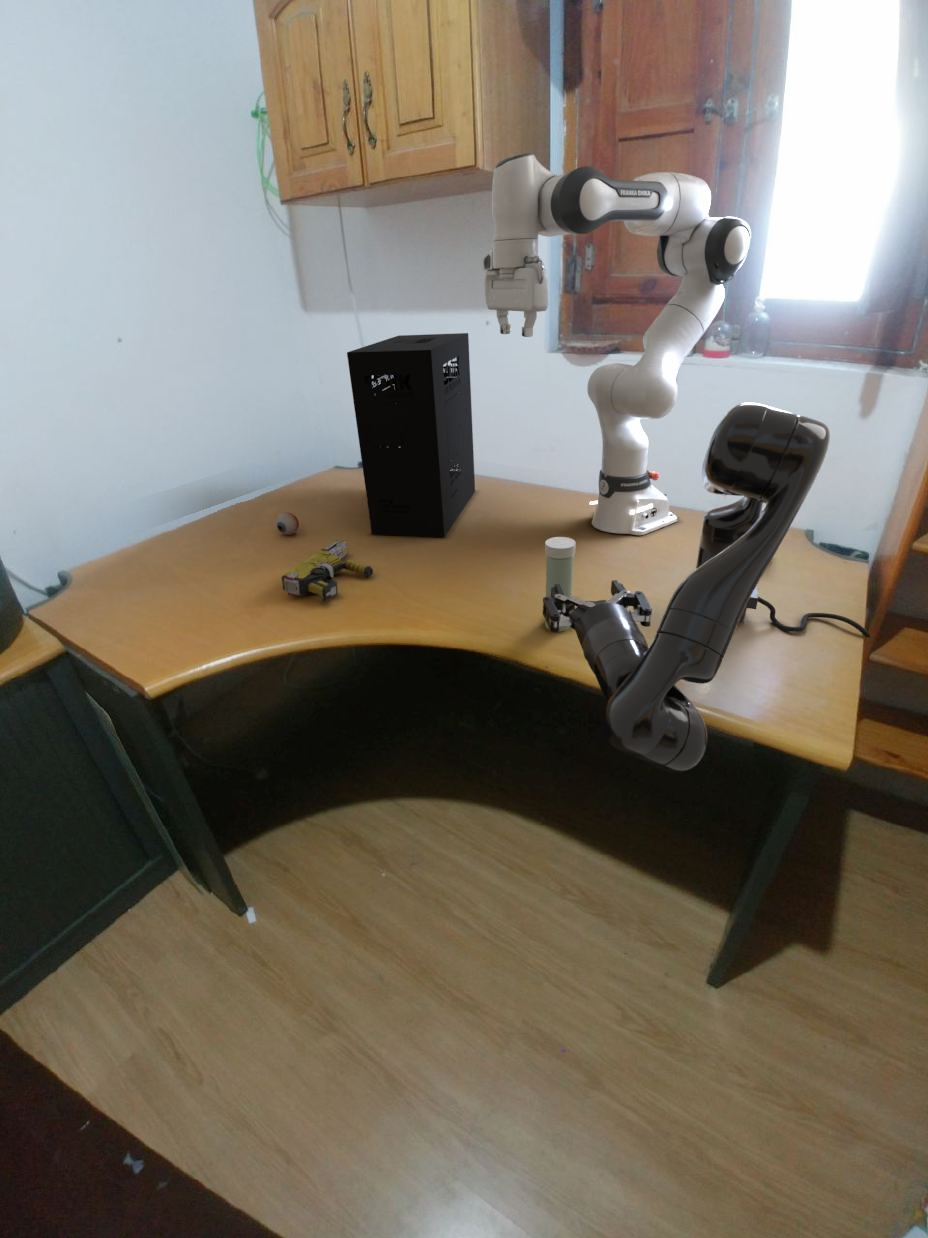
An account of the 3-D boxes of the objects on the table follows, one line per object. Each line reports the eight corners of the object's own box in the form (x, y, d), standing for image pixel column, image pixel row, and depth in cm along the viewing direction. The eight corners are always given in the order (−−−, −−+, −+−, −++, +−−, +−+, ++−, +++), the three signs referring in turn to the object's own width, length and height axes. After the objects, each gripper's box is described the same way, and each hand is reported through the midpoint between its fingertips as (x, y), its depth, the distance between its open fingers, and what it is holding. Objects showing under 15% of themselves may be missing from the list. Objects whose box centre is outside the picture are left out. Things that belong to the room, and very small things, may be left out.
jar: (552, 633, 114) (555, 552, 105) (540, 622, 118) (541, 542, 109) (575, 627, 115) (579, 547, 107) (562, 616, 119) (565, 537, 111)
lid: (554, 561, 106) (554, 550, 105) (539, 550, 110) (540, 540, 109) (580, 555, 107) (581, 544, 106) (565, 544, 112) (565, 534, 111)
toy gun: (389, 548, 145) (334, 537, 149) (339, 588, 125) (277, 575, 129) (389, 566, 147) (335, 555, 151) (340, 608, 127) (279, 595, 131)
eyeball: (273, 537, 164) (268, 516, 161) (287, 528, 169) (282, 508, 166) (291, 539, 161) (286, 518, 158) (305, 530, 166) (301, 510, 163)
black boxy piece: (444, 537, 157) (431, 349, 135) (371, 534, 162) (346, 352, 139) (475, 491, 189) (468, 332, 166) (413, 489, 193) (398, 335, 171)
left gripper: (557, 254, 111) (556, 336, 118) (505, 258, 127) (506, 331, 134) (528, 255, 109) (527, 339, 116) (478, 260, 125) (481, 333, 132)
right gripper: (672, 615, 74) (634, 561, 88) (557, 622, 74) (537, 567, 88) (665, 665, 78) (630, 606, 92) (556, 672, 78) (537, 612, 92)
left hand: (516, 335), depth 125 cm, fingers open, 8 cm apart
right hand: (584, 587), depth 90 cm, fingers open, 8 cm apart
